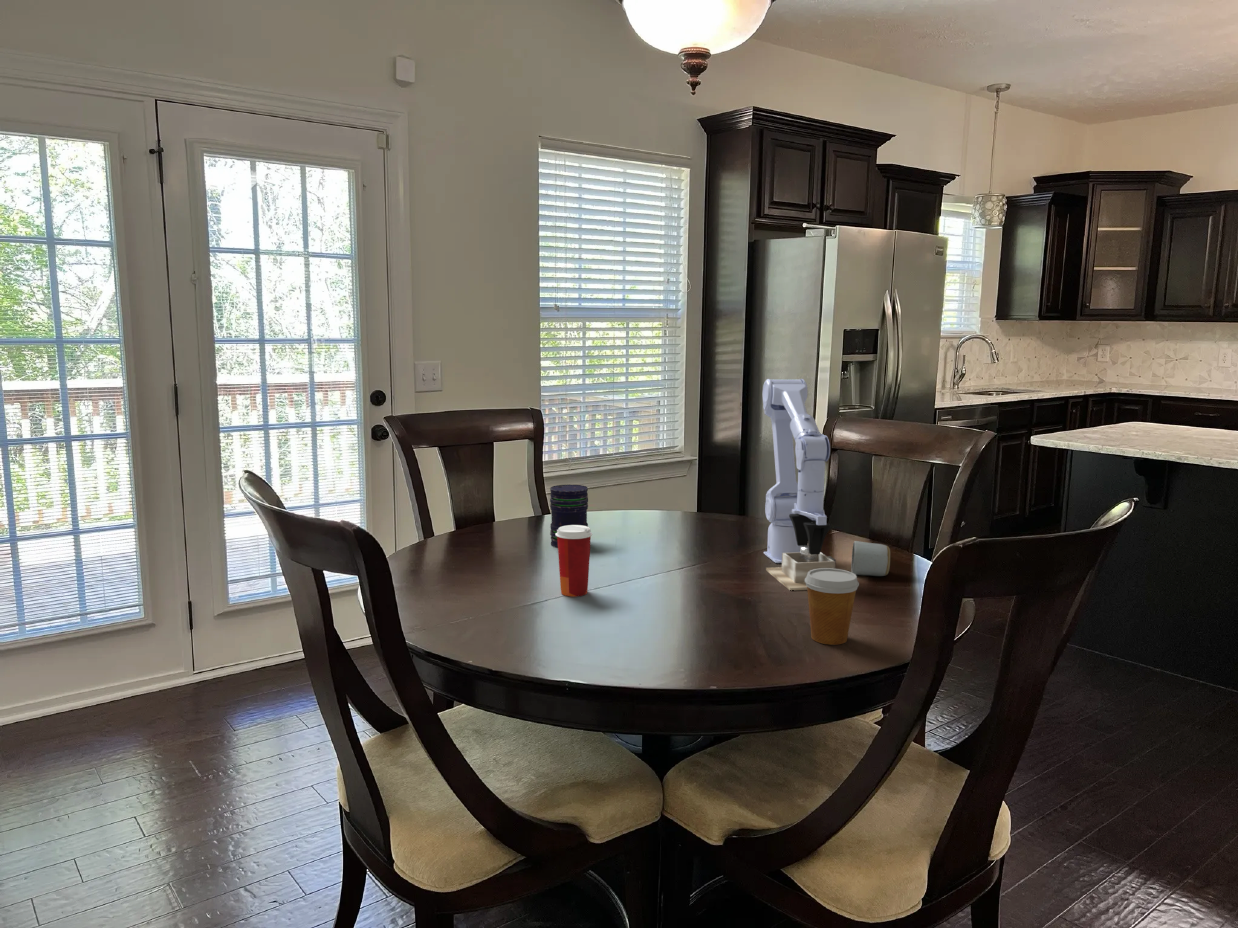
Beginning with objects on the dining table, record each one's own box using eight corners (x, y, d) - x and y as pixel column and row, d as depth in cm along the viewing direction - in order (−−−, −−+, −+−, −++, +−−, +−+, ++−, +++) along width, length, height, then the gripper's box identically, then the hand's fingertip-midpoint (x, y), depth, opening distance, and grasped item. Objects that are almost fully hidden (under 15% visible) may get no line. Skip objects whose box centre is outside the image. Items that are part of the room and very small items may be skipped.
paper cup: (597, 589, 185) (597, 525, 183) (584, 599, 178) (584, 533, 176) (563, 585, 187) (563, 523, 185) (549, 595, 180) (549, 530, 178)
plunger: (788, 571, 196) (789, 544, 195) (815, 570, 197) (817, 543, 196) (798, 580, 190) (799, 551, 189) (827, 578, 191) (828, 550, 190)
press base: (766, 570, 200) (766, 549, 199) (823, 568, 202) (824, 547, 201) (789, 590, 185) (790, 568, 184) (851, 587, 187) (852, 565, 186)
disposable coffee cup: (795, 630, 160) (798, 567, 158) (845, 629, 161) (848, 566, 159) (811, 649, 151) (814, 582, 149) (864, 647, 151) (867, 581, 150)
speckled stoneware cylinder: (890, 580, 193) (892, 546, 192) (852, 578, 194) (854, 544, 193) (884, 568, 203) (886, 536, 202) (849, 566, 204) (850, 534, 203)
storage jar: (595, 542, 225) (595, 486, 223) (573, 550, 217) (573, 492, 215) (564, 537, 231) (564, 483, 228) (542, 545, 223) (542, 488, 220)
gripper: (782, 484, 197) (780, 542, 199) (805, 496, 183) (802, 558, 185) (811, 483, 198) (809, 541, 200) (836, 495, 184) (834, 557, 186)
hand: (808, 549), depth 192 cm, fingers open, 7 cm apart
